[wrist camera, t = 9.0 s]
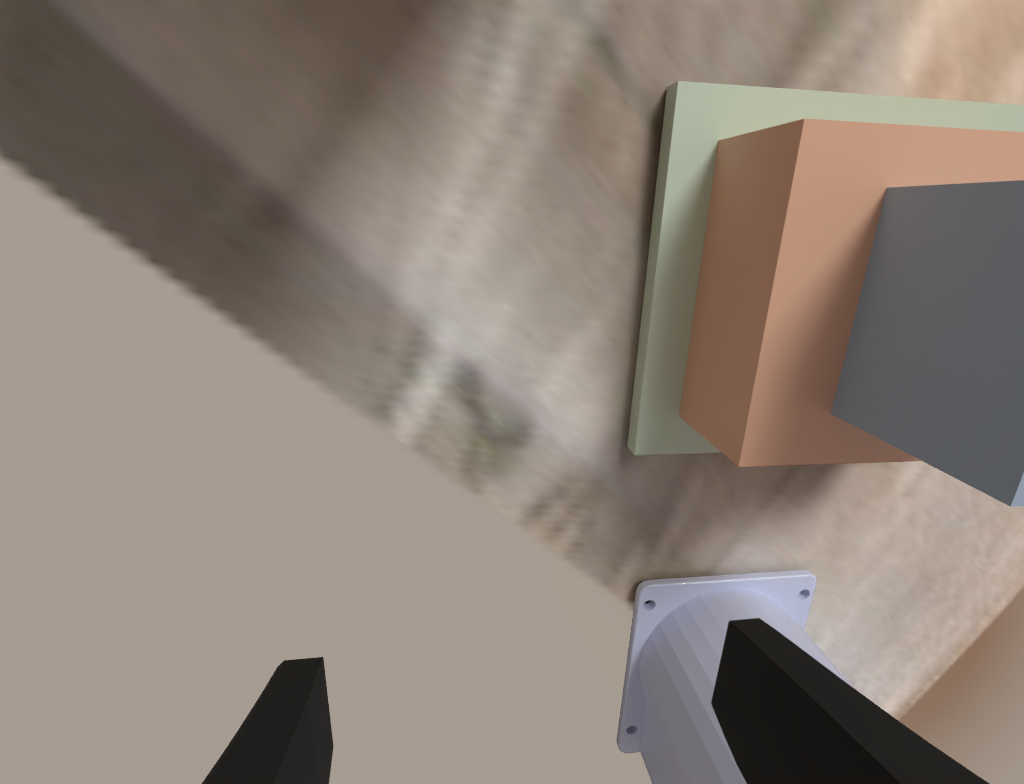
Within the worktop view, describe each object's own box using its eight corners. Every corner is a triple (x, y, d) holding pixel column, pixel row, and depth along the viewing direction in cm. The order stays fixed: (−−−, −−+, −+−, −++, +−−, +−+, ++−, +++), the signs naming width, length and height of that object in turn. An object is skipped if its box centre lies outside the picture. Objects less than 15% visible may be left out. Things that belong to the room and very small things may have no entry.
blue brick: (953, 412, 15) (1178, 499, 11) (830, 413, 15) (1010, 506, 10) (1025, 194, 14) (1336, 185, 9) (886, 187, 13) (1140, 173, 8)
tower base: (908, 438, 21) (1033, 498, 17) (627, 446, 20) (682, 514, 15) (1006, 110, 18) (1201, 75, 13) (667, 87, 16) (756, 38, 12)
